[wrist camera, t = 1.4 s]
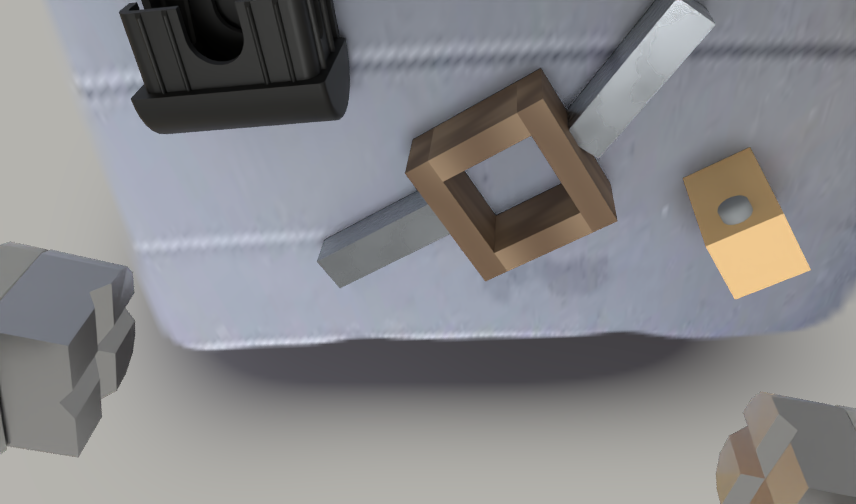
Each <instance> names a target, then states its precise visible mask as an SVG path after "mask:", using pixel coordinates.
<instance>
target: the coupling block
mask: <svg viewBox="0 0 856 504" xmlns="http://www.w3.org/2000/svg"><path fill="white" fill-rule="evenodd" d="M683 181H684V184H685V187H686V190H687V193H688V196H689V198H690V201H691V204H692V207H693V210H694V213H695V216H696V219H697V222H698V225H699V228H700V231H701V234H702V237H703V240H704V243H705V246H706V248H707V250H708V252H709V253H710V255H711V257H712V259H713V261H714V262H715V264H716V266H717V268H718V270H719V271H720V273H721V275H722V277H723V279H724V280H725V282H726V284H727V286H728V288H729V289H730V291H731V293H732V295H733V297H734V299H738V298H741V297H743V296H746V295H748V294H751V293H753V292H756V291H758V290H761V289H764V288H766V287H769V286H771V285H774V284H776V283H779V282H781V281H784V280H787V279H789V278H792V277H794V276H797V275H799V274H802V273H804V272H807V271H810V270H811V269H810V267H809V265H808V263H807V261H806V259H805V257H804V255H803V253H802V251H801V249H800V247H799V244H798V242H797V240H796V238H795V236H794V234H793V232H792V230H791V228H790V226H789V224H788V222H787V220H786V217H785V215H784V213H783V211H782V209H781V207H780V205H779V203H778V201H777V199H776V198H775V196H774V194H773V192H772V190H771V188H770V186H769V184H768V182H767V180H766V178H765V176H764V174H763V172H762V170H761V168H760V166H759V164H758V162H757V160H756V158H755V156H754V154H753V152H752V150H751V148H750V147H749V148H747V149H745V150H743V151H741V152H738V153H736V154H734V155H732V156H730V157H728V158H725V159H723V160H721V161H719V162H717V163H715V164H712V165H710V166H708V167H706V168H704V169H702V170H699V171H697V172H695V173H693V174H691V175H689V176H687V177H684V178H683Z"/></svg>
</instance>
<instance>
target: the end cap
mask: <svg viewBox="0 0 856 504" xmlns="http://www.w3.org/2000/svg"><path fill="white" fill-rule="evenodd" d="M141 1H142V4H143V7H144V10H139V7H138V4H137V2H136V3H129V4H128V5H127V6H125V7H124V8H123V9H122V10H120V12H119V14H120V17H121V19H122V22H123V25H124V28H125V31H126V34H127V36H128V39H129V42H130V45H131V48H132V50H133V53H134V56H135V59H136V62H137V65H138V67H139V70H140V73H141V76H142V79H143V82H144V85H143V86H142V87H141V88H140V89H139V90H138V91H137V92H136V94H135V95H134V96H133V97H132V98H131V101H132V103H133V105H134V107H135V110H136V111H137V113H138V115H139V117H140V118H141V119H142V121H143V122H144V123H145V124H146V126H148V127H149V128H150V129H151V130H152V131H155V132H157V133H159V134H173V133H186V132H198V131H210V130H223V129H235V128H247V127H259V126H272V125H284V124H296V123H308V122H321V121H333V120H339V119H340V118H342V117H343V116H344V114H345V112H346V109H347V106H348V100H349V90H350V75H349V60H348V52H347V45H346V39H345V38H340V37H339V30H338V25H337V20H336V15H335V10H334V5H333V0H141Z"/></svg>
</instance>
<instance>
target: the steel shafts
mask: <svg viewBox="0 0 856 504" xmlns="http://www.w3.org/2000/svg"><path fill="white" fill-rule="evenodd" d="M715 25H716V24H715V22H714V21H713V19H712V17H711V15H710V14H709V12H708V10H707V9H706V8H705V7H704V6H702V5H701V4H699V3H698V2H697V1H695V0H655V2H654V3H653V4H652V5H651V7H650V8H649V9H648V10H647V12H646V13H645V14H644V15H643V17H642V18H641V19H640V20H639V22H638V23H637V24H636V25H635V27H634V28H633V29H632V30H631V31H630V33H629V34H628V35H627V36H626V38H625V39H624V40H623V41H622V43H621V44H620V45H619V46H618V48H617V49H616V50H615V51H614V53H613V54H612V55H611V56H610V58H609V59H608V60H607V61H606V63H605V64H604V65H603V66H602V67H601V69H600V70H599V71H598V72H597V74H596V75H595V76H594V77H593V79H592V80H591V81H590V82H589V84H588V85H587V86H586V87H585V89H584V90H583V91H582V92H581V94H580V95H579V96H578V97H577V99H576V100H575V101H574V102H573V103H572V105H571V106H570V107H569V108H568V110H567V119H568V128H569V131H570V133H571V135H572V136H573V138H574V140H575V141H576V143H577V144H578V146H579V147H580V148H582V149H584V150H585V151H587V152H588V153H590V154H592V155H593V156H595V157H596V158H598V159H599V158H600V157H601V156H602V155H603V153H604V152H605V151H606V150H607V149H608V148H609V146H610V145H611V144H612V143H613V142H614V141H615V140H616V138H617V137H618V136H619V135H620V134H621V133H622V132H623V130H624V129H625V128H626V127H627V126H628V125H629V124H630V122H631V121H632V120H633V119H634V118H635V117H636V115H637V114H638V113H639V112H640V111H641V110H642V109H643V107H644V106H645V105H646V104H647V103H648V102H649V101H650V99H651V98H652V97H653V96H654V95H655V94H656V93H657V91H658V90H659V89H660V88H661V87H662V86H663V84H664V83H665V82H666V81H667V80H668V79H669V78H670V76H671V75H672V74H673V73H674V72H675V71H676V70H677V68H678V67H679V66H680V65H681V64H682V63H683V61H684V60H685V59H686V58H687V57H688V56H689V55H690V53H691V52H692V51H693V50H694V49H695V48H696V47H697V45H698V44H699V43H700V42H701V41H702V40H703V39H704V37H705V36H706V35H707V34H708V33H709V32H710V30H711V29H712V28H713V27H714V26H715ZM449 234H450V233H449V232H448V230H447V229H446V228H445V226H444V225H443V224H442V222H441V221H440V220H439V218H438V217H437V216H436V214H435V213H434V212H433V210H432V209H431V208H430V206H429V205H428V204H427V202H426V201H425V200H424V198H423V197H422V196H421V194H420V193H419V192H418V191H416V192H415V193H413V194H411V195H409V196H407V197H405V198H403V199H401V200H399V201H397V202H396V203H394V204H392V205H390V206H388V207H386V208H384V209H382V210H380V211H378V212H377V213H375V214H373V215H371V216H369V217H367V218H365V219H363V220H361V221H359V222H358V223H356V224H354V225H352V226H350V227H348V228H346V229H344V230H342V231H340V232H339V233H337V234H335V235H333V236H331V237H329V238H327V239H325V240H324V243H323V246H322V249H321V251H320V254H319V257H318V260H317V262H318V263H319V265H320V266H321V267H322V268H323V269H324V270H325V272H326V273H327V274H328V275H329V276H330V277H331V278H332V280H333V281H334V282H335V283H336V284H337V285H338V287H339V288H341V287H343V286H346V285H348V284H350V283H352V282H354V281H356V280H358V279H360V278H362V277H364V276H366V275H368V274H370V273H372V272H374V271H376V270H378V269H380V268H382V267H384V266H386V265H388V264H390V263H392V262H394V261H396V260H398V259H400V258H402V257H404V256H406V255H408V254H411V253H413V252H415V251H417V250H419V249H421V248H423V247H425V246H427V245H429V244H431V243H433V242H435V241H437V240H439V239H441V238H443V237H445V236H447V235H449Z"/></svg>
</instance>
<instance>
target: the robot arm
mask: <svg viewBox="0 0 856 504" xmlns="http://www.w3.org/2000/svg"><path fill="white" fill-rule="evenodd" d="M133 294H134V282H133V272H132V271H131V270H130V269H129V268H128V267H127V266H123V265H118V264H114V263H109V262H105V261H100V260H95V259H91V258H86V257H82V256H77V255H73V254H68V253H63V252H59V251H55V250H46V249H43V248H38V247H33V246H29V245H24V244H20V243H15V242H7V243H4V244H1V245H0V454H1V453H3V452H5V451H6V449H7V447H6V446H10V447H16V448H22V449H28V450H35V451H41V452H47V453H53V454H60V455H66V456H72V457H79V456H80V454H81V452H82V450H83V449H84V447H85V445H86V443H87V442H88V440H89V438H90V437H91V435H92V433H93V431H94V430H95V428H96V426H97V424H98V423H99V421H100V419H101V418H102V411H101V410H102V409H101V399H102V398H104V397H106V396H108V395H110V394H112V393H113V392H115V391H117V389H118V387H119V386H120V384H121V382H122V380H123V378H124V376H125V375H126V372H127V369H128V366H129V363H130V360H131V356H132V353H133V347H134V340H135V320H134V318H133V317H132V316H131V315H130V313H129V312H128V311H127V309H126V308H125V307H126V305H127V304H128V302H129V300H130V299H131V297H132V295H133ZM743 414H744V417H745V420H746V423H747V426H746V427H744V428H742V429H741V430H739V431H737V432H735V433H733V434H731V435H729V437H728V438H727V440H726V442H725V444H724V446H723V448H722V450H721V452H720V454H719V459H718V464H717V470H716V483H717V484H716V485H717V492H718V496H719V500H720V504H856V408H850V407H845V406H840V405H835V406H833V405H829V404H824V403H819V402H813V401H808V400H803V399H797V398H792V397H787V396H781V395H777V394H771V393H766V392H759V393H758V394H757V395H755V396H754V397H753V398H751V400H750V401H749V403H748V405H747V406H746V408H745V409H744V411H743Z"/></svg>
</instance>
